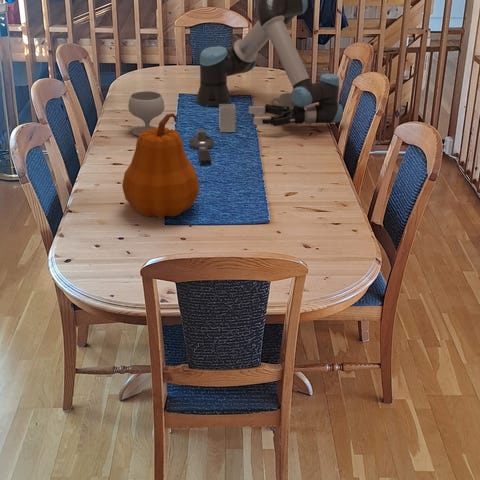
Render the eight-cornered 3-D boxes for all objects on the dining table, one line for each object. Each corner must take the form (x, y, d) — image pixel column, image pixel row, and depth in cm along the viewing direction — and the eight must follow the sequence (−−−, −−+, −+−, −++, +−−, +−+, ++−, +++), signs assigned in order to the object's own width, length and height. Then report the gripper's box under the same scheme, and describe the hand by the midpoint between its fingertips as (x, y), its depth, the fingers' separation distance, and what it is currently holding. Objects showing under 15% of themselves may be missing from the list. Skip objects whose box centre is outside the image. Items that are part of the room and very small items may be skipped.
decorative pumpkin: (161, 187, 251) (158, 99, 237) (215, 207, 238) (215, 115, 224) (107, 210, 235) (101, 117, 221) (162, 233, 221) (158, 136, 207)
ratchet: (189, 142, 289) (188, 127, 287) (212, 141, 290) (212, 126, 288) (193, 165, 268) (193, 149, 265) (218, 164, 269) (218, 149, 266)
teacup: (303, 111, 325) (304, 93, 321) (303, 119, 316) (304, 100, 312) (271, 109, 326) (272, 91, 323) (269, 117, 317) (270, 99, 313)
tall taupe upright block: (218, 128, 304) (219, 104, 299) (233, 127, 305) (234, 103, 300) (220, 133, 299) (220, 108, 294) (235, 132, 299) (235, 108, 295)
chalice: (122, 134, 295) (120, 97, 288) (142, 124, 306) (141, 88, 299) (152, 141, 290) (151, 103, 283) (172, 130, 301) (171, 93, 294)
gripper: (309, 133, 293) (255, 135, 291) (297, 113, 315) (247, 114, 313) (310, 115, 290) (256, 116, 287) (298, 95, 312) (247, 97, 309)
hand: (251, 115), depth 300 cm, fingers open, 13 cm apart
